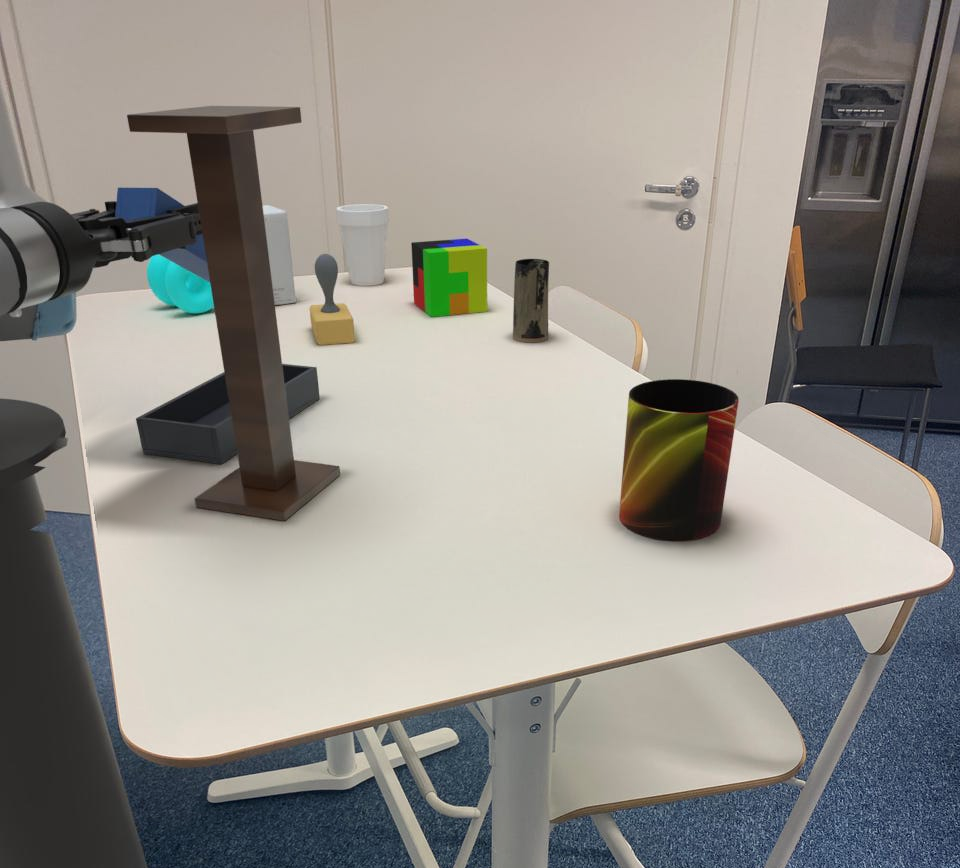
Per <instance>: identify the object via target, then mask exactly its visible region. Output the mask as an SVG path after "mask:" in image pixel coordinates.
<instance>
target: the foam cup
mask: <svg viewBox="0 0 960 868" xmlns="http://www.w3.org/2000/svg"><path fill="white" fill-rule="evenodd" d="M335 211H336V221H337V224H338V228H339V232H340V238H341V242H342V247H343V252H344V256H345V261H346V266H347V271H348V276H349V280H350V284H352V285H353V286H359V287H360V286H362V287H367V286H368V287H371V286H378V285H381V284H383V283H384V282H385V274H386V273H385V271H386V255H387V239H388V237H387V236H388V223H389V206H387V205H384V204H377V203H375V204H374V203H359V204H358V203H357V204H345V205H341V206H337V207H336V209H335Z"/></svg>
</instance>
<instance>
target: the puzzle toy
mask: <svg viewBox="0 0 960 868" xmlns="http://www.w3.org/2000/svg"><path fill="white" fill-rule="evenodd" d="M411 265H412V269H411V270H412V289H413V304H414V305H415V306H416V307H418V308H419V309H420V310H422V311H423V312H424V313H425V314H426V315H428V316H429V317H431V318H434V317H444V316H455V315H464V314H465V315H466V314H475V313H486V312H488V248H487V247H485V246H484V245H481V244H479V243H477V242H475V241H473V240H472V239H469V238H456V239H455V238H454V239H442V240H441V239H439V240H426V241H425V240H424V241H415V242H413V241H412V242H411Z"/></svg>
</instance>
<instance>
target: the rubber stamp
mask: <svg viewBox="0 0 960 868" xmlns="http://www.w3.org/2000/svg"><path fill="white" fill-rule="evenodd" d="M314 273H315V276H316V280H317V282H318V283H319V286H320V289H321V290H322V293H323V295H324V296H323V297H324V304H312V305H310V306H309V317H310V318H309V319H310V327H311V330H312V333H313V336H314V338H315V341H316V343H317V344H318V345H319V346H324V345H325V346H326V345H341V344H353V343H354V342H355V340H356V337H355V336H356V334H355V324H354V318H353V316H352V313H351V312H350V310H349V308H348V306H347V304H346V303H344V302H342V303H341V302H339V303H335V301H334V293H335V292H334V291H335V288H336V283H337V280H338V275H339V266H338V262H337V260H336V259H335V258H334V256H332V254H329V253H322V254H320V255H319V256H318V257H317V258H316V260H315V262H314Z"/></svg>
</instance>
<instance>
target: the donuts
mask: <svg viewBox="0 0 960 868" xmlns="http://www.w3.org/2000/svg"><path fill="white" fill-rule="evenodd" d="M146 278H147V282H148V286H149V288H150V290H151V292H152V293H153V295H154V296H155V297H156V298H157V299H158V300H159V301H161V302H162V303H164V304H166V305H168V306H171V307H177V308H179V309H180V310H181V311H183V312H186V313H188V314H192V315H193V314H196V315H197V314H204V313H206V312H209V311H210V310H211V309H213V308H214V303H213V297H212V291H211V284H210V282H208V281H206V280H204V279H203V278H201V277H199V276H197V275H195V274H194V273H192V272H190V271H188V270H186V269H184V268H183V267H181V266H179V265H177V264H175V263H174V262H172V261H170V260H168V259H166V258H165V257H163V256H161V255H159V254H158V255H154V256H152V257H151V258H149V261H148V264H147V269H146Z"/></svg>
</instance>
